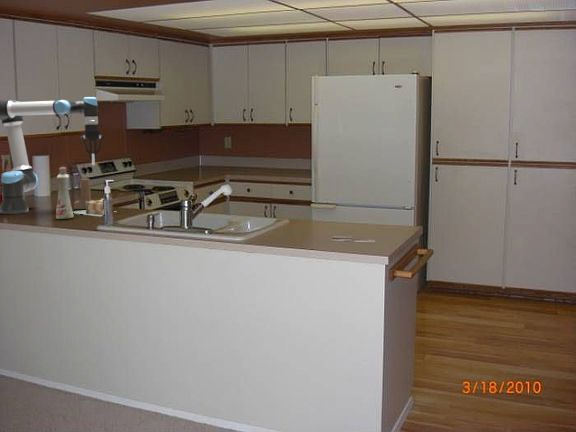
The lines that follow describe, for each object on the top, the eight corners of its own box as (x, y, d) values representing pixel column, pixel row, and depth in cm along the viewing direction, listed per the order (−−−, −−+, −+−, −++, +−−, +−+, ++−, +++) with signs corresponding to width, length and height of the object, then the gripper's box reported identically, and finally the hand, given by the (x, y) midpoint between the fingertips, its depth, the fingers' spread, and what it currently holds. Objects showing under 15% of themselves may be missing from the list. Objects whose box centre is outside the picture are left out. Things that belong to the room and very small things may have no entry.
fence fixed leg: (104, 215, 383) (104, 202, 382) (102, 216, 381) (101, 202, 380) (87, 214, 391) (87, 200, 390) (85, 214, 389) (84, 201, 388)
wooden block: (74, 210, 409) (72, 179, 406) (75, 209, 413) (74, 178, 410) (90, 209, 410) (88, 179, 407) (91, 208, 414) (89, 178, 412)
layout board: (100, 216, 380) (100, 216, 380) (67, 213, 395) (67, 212, 395) (124, 213, 394) (124, 212, 393) (91, 209, 409) (91, 208, 409)
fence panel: (90, 212, 390) (89, 200, 389) (88, 212, 391) (87, 200, 390) (105, 210, 401) (104, 198, 400) (103, 210, 401) (102, 198, 400)
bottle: (73, 219, 372) (70, 167, 368) (55, 220, 369) (52, 167, 365) (73, 217, 380) (71, 165, 376) (56, 217, 377) (53, 166, 373)
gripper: (80, 124, 395) (82, 165, 398) (103, 124, 399) (105, 165, 403) (79, 124, 402) (81, 164, 405) (102, 124, 406) (104, 164, 410)
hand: (93, 165), depth 404 cm, fingers closed
